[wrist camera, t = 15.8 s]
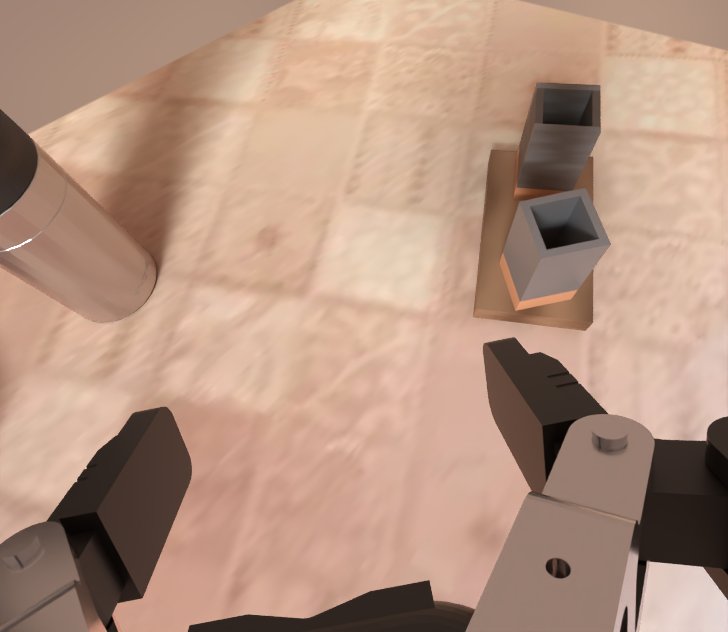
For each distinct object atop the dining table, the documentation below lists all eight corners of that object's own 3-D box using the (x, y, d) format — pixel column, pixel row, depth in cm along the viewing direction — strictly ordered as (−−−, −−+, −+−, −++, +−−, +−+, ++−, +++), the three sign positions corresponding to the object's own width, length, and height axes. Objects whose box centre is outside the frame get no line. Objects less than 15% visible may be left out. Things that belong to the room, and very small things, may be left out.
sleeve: (570, 299, 43) (610, 244, 34) (515, 310, 43) (541, 258, 34) (552, 251, 45) (585, 187, 36) (499, 262, 45) (519, 201, 36)
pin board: (473, 316, 45) (491, 256, 35) (488, 162, 52) (507, 72, 41) (585, 330, 44) (639, 271, 33) (586, 170, 50) (632, 77, 39)
